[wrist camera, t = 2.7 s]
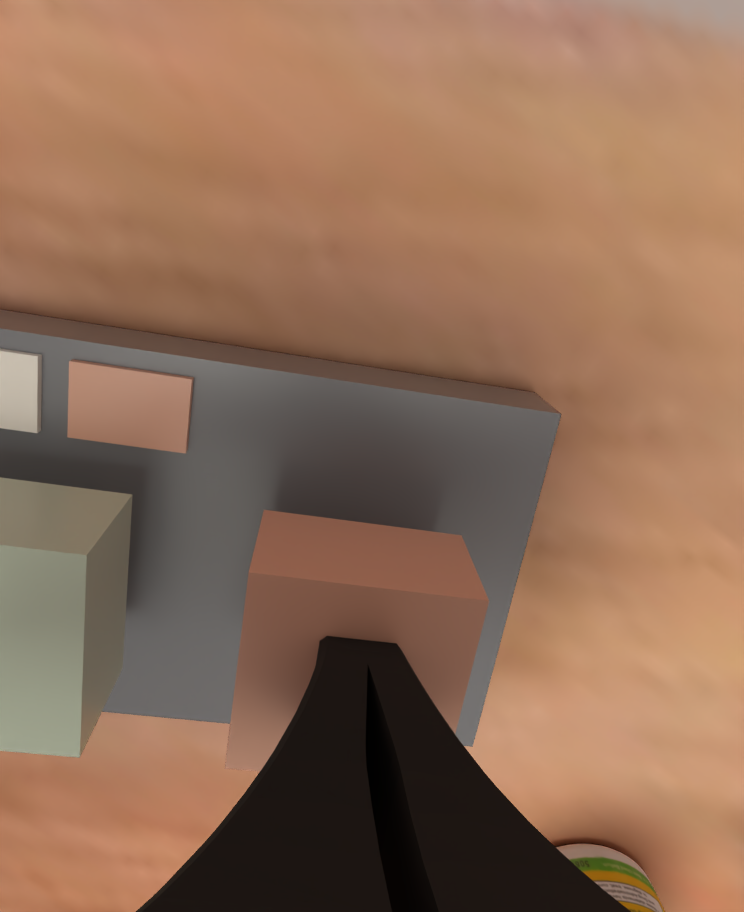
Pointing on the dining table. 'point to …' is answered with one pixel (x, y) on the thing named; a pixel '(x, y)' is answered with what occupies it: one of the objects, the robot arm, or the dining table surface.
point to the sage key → (59, 612)
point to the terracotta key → (348, 616)
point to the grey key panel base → (259, 478)
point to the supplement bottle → (615, 875)
